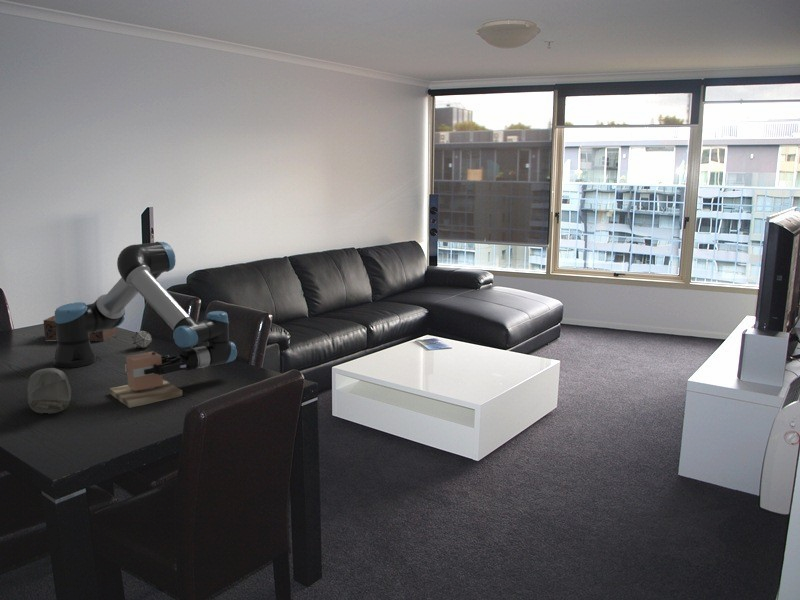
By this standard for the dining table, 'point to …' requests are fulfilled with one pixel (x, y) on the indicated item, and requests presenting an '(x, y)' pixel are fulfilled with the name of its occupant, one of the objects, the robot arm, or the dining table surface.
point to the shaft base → (145, 394)
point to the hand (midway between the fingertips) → (129, 370)
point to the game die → (142, 339)
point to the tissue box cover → (96, 336)
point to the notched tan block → (141, 362)
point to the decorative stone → (48, 391)
